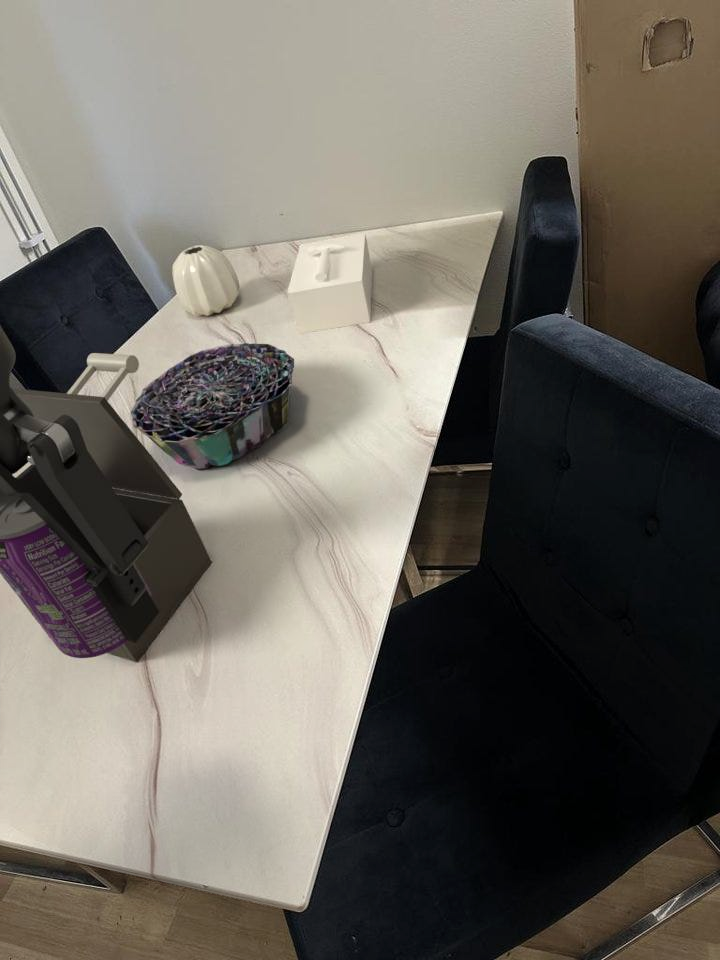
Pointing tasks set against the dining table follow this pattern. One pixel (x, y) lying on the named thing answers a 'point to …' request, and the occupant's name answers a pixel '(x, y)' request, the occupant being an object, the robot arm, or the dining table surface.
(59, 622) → the beverage can
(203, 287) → the vase
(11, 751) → the dining table surface
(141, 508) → the dark open box
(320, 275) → the white embossed block
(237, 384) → the decorative bowl
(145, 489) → the lid
